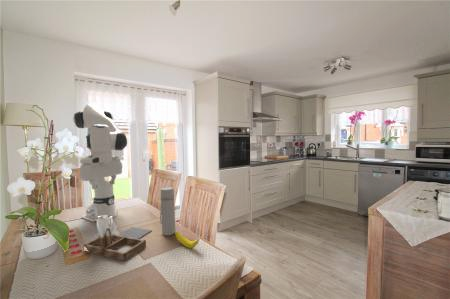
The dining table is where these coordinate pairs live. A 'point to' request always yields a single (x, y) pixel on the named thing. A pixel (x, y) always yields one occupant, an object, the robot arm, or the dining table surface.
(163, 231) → the water bottle
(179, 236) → the banana
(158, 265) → the dining table surface
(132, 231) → the charcoal mat
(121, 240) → the frame
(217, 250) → the dining table surface
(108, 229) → the beer glass
